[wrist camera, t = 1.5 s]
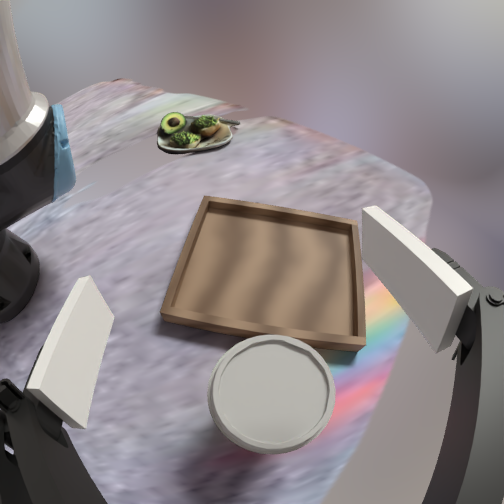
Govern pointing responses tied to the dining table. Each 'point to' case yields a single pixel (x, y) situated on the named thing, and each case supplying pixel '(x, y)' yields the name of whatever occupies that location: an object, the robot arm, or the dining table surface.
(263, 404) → the disposable coffee cup
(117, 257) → the dining table surface
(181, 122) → the salad plate
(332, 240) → the serving tray
